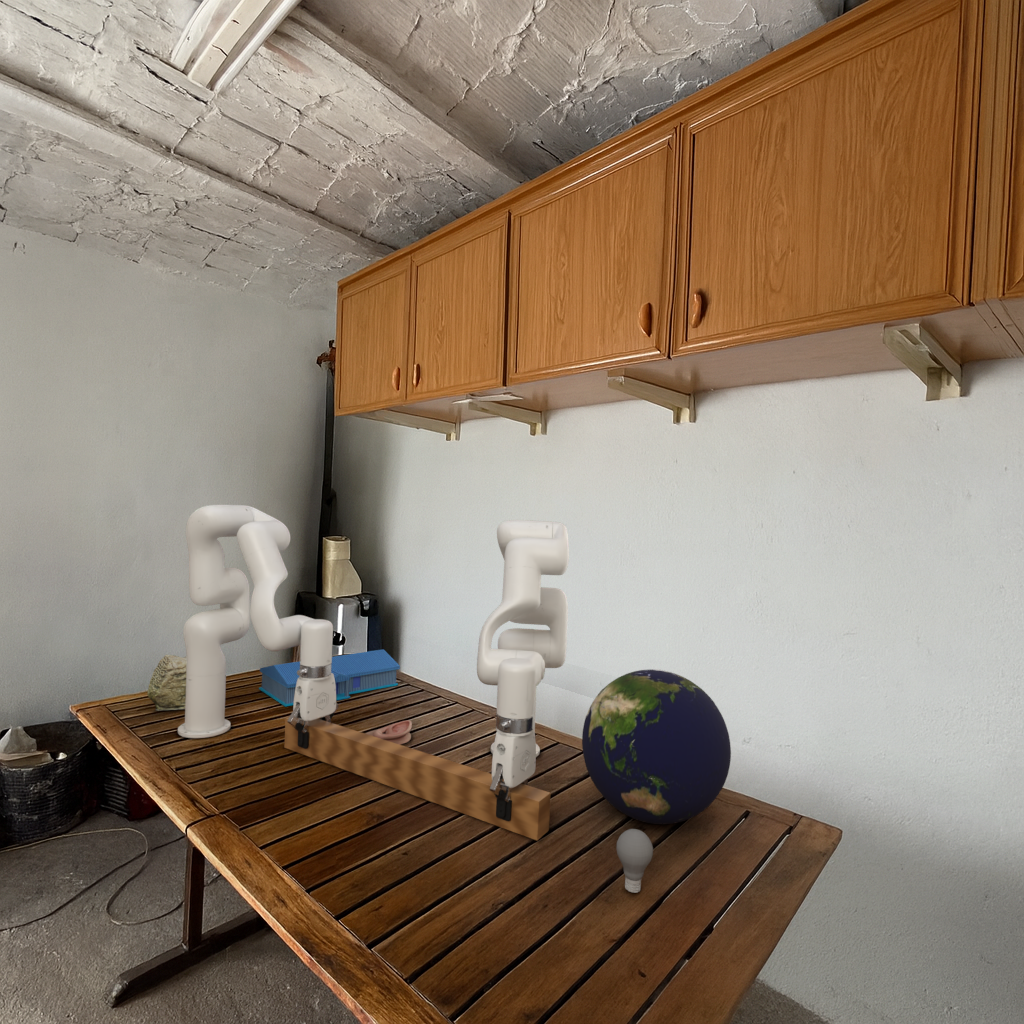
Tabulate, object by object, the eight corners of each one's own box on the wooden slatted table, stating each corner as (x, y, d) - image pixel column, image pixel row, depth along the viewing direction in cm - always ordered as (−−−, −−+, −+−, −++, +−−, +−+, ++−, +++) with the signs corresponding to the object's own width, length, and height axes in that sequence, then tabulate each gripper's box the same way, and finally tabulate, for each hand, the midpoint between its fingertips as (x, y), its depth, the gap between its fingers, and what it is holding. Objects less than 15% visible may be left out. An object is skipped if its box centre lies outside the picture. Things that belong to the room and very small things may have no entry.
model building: (289, 709, 186) (291, 675, 185) (258, 688, 204) (259, 657, 204) (403, 687, 212) (405, 657, 212) (366, 670, 230) (368, 643, 230)
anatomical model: (352, 728, 162) (370, 714, 173) (351, 744, 162) (370, 728, 173) (400, 734, 159) (416, 719, 171) (400, 750, 159) (416, 734, 171)
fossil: (144, 707, 182) (145, 655, 182) (212, 696, 194) (213, 647, 194) (151, 716, 175) (153, 662, 175) (221, 703, 188) (223, 653, 188)
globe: (560, 832, 123) (567, 679, 123) (598, 773, 151) (604, 648, 150) (721, 872, 112) (730, 704, 111) (731, 800, 140) (737, 665, 139)
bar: (284, 747, 158) (285, 717, 158) (299, 742, 162) (300, 713, 162) (537, 840, 120) (539, 801, 120) (549, 830, 124) (550, 792, 124)
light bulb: (610, 879, 108) (613, 822, 108) (644, 879, 109) (647, 822, 109) (619, 902, 102) (622, 840, 102) (655, 901, 103) (658, 840, 103)
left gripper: (297, 681, 147) (294, 758, 147) (352, 666, 161) (349, 736, 162) (276, 675, 151) (273, 750, 151) (331, 661, 165) (329, 730, 166)
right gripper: (508, 739, 117) (503, 837, 117) (551, 715, 131) (547, 802, 131) (474, 730, 120) (470, 825, 121) (520, 707, 135) (516, 792, 135)
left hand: (312, 742), depth 156 cm, fingers open, 5 cm apart
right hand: (510, 812), depth 126 cm, fingers closed on bar, 4 cm apart
